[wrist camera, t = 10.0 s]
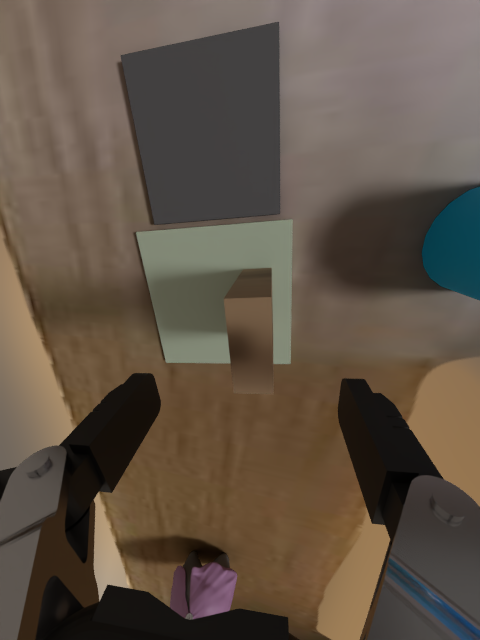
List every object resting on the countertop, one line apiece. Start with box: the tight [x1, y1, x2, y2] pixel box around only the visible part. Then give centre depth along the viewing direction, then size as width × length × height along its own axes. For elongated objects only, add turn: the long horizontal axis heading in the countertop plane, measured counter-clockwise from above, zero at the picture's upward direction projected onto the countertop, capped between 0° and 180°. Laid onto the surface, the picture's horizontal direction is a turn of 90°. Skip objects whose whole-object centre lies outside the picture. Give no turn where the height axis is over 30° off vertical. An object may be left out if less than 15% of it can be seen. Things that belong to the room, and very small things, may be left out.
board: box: [136, 219, 292, 364], centre depth 22 cm, size 14×14×1 cm
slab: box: [224, 268, 274, 394], centre depth 18 cm, size 6×3×9 cm, turn 4°
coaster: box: [121, 22, 280, 225], centre depth 17 cm, size 11×11×1 cm
